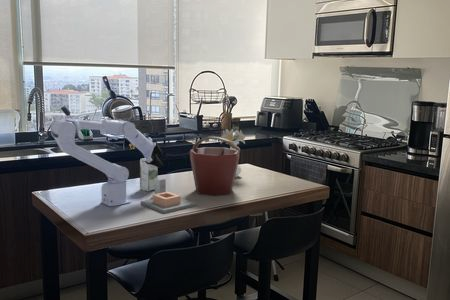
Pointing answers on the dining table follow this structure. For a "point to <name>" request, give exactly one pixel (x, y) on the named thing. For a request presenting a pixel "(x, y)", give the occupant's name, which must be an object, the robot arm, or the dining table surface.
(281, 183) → the dining table surface
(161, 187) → the steel block
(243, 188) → the dining table surface
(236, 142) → the flower vase
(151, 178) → the syrup box
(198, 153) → the bucket
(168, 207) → the well board
